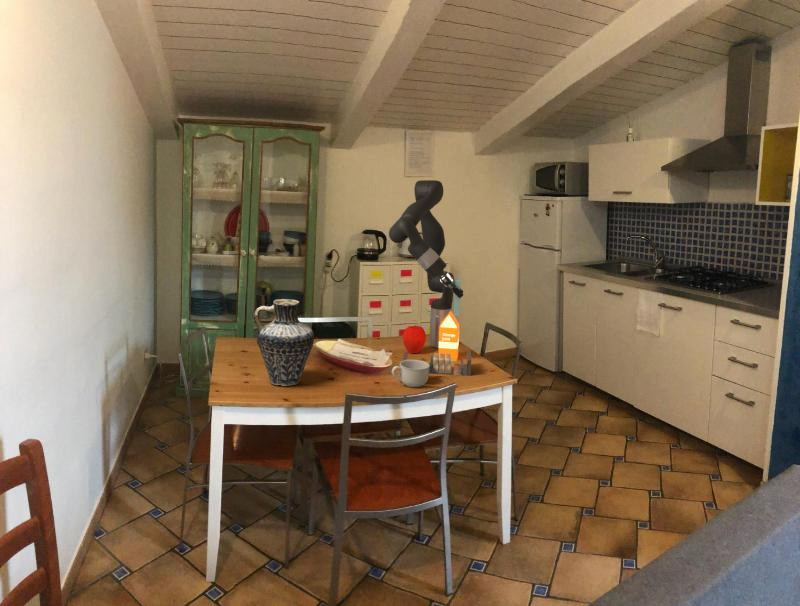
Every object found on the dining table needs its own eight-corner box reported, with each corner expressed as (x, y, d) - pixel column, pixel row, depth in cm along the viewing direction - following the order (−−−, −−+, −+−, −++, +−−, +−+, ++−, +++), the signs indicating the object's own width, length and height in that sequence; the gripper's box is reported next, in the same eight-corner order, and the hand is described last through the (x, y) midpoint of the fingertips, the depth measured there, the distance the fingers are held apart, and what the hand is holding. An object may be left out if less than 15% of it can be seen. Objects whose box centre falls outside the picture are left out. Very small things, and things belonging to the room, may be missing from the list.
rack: (401, 374, 253) (401, 356, 252) (404, 364, 267) (404, 347, 265) (470, 378, 251) (471, 360, 250) (469, 367, 265) (470, 350, 263)
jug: (303, 372, 252) (303, 294, 246) (321, 387, 235) (322, 303, 229) (248, 379, 242) (247, 297, 237) (263, 395, 226) (262, 307, 220)
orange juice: (458, 357, 279) (460, 310, 276) (456, 363, 271) (459, 315, 267) (439, 356, 280) (441, 309, 277) (437, 362, 272) (439, 313, 268)
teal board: (453, 315, 251) (455, 281, 249) (453, 312, 257) (455, 278, 255) (458, 315, 251) (460, 281, 249) (458, 312, 257) (460, 278, 255)
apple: (417, 357, 278) (418, 328, 276) (397, 353, 284) (398, 325, 281) (429, 352, 286) (430, 324, 284) (410, 348, 292) (411, 321, 290)
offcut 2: (438, 372, 254) (439, 359, 253) (439, 365, 263) (440, 353, 262) (444, 372, 253) (444, 360, 252) (444, 365, 263) (445, 353, 262)
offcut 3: (444, 372, 253) (445, 360, 253) (445, 365, 263) (446, 353, 262) (450, 373, 253) (450, 360, 252) (450, 365, 263) (451, 353, 262)
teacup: (424, 380, 247) (425, 359, 246) (432, 389, 237) (433, 367, 236) (387, 381, 244) (388, 360, 243) (393, 390, 234) (394, 368, 233)
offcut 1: (432, 372, 254) (433, 359, 253) (433, 365, 264) (434, 352, 263) (438, 372, 254) (438, 359, 253) (438, 365, 263) (439, 353, 263)
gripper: (438, 258, 244) (469, 291, 245) (439, 253, 258) (468, 285, 259) (423, 272, 245) (454, 305, 246) (425, 267, 259) (454, 298, 260)
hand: (461, 295), depth 253 cm, fingers closed on teal board, 6 cm apart
